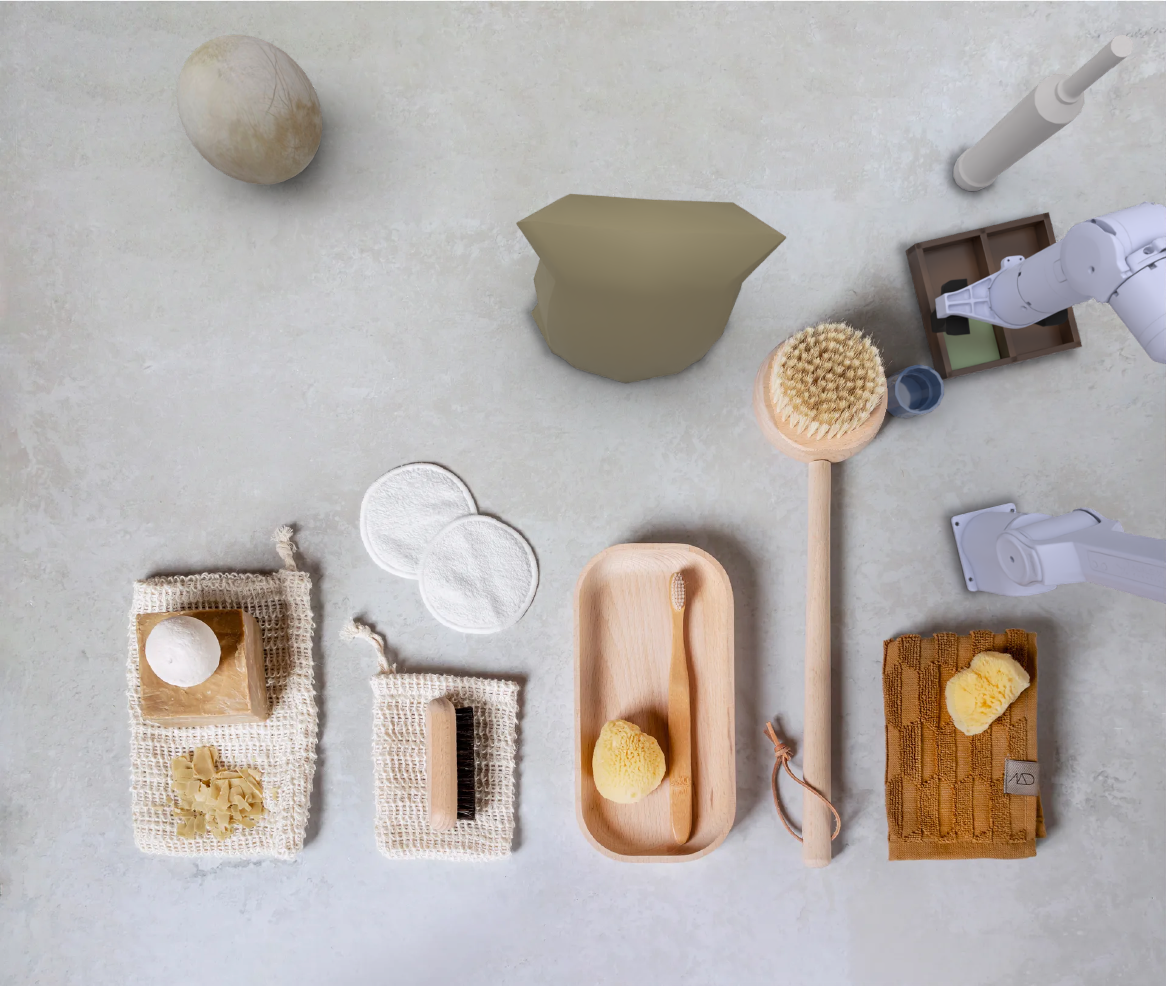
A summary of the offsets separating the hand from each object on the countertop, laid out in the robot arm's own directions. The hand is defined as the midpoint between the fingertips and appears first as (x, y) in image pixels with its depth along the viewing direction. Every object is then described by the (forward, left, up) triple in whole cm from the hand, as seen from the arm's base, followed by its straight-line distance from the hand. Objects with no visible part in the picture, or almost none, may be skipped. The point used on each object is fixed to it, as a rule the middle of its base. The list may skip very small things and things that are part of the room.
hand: (968, 319), depth 80 cm
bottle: (+19, -10, -10) cm, 24 cm away
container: (+11, +36, -10) cm, 38 cm away
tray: (+3, -9, -10) cm, 14 cm away
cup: (-6, +5, -10) cm, 12 cm away
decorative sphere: (+42, +73, -10) cm, 84 cm away
